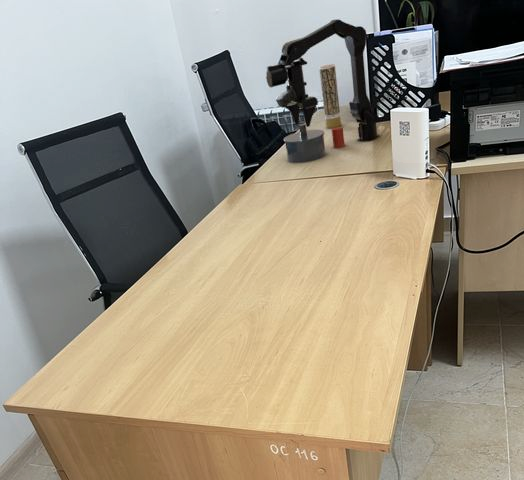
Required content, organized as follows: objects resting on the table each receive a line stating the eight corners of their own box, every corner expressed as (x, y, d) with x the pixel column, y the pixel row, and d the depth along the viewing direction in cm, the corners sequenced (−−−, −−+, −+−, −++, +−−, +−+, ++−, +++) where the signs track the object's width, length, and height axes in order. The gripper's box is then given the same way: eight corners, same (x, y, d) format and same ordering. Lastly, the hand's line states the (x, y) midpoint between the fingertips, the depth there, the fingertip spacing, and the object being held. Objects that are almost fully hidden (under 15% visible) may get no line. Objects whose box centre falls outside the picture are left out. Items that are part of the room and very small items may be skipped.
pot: (328, 149, 216) (325, 129, 212) (321, 160, 204) (319, 139, 200) (293, 153, 220) (290, 134, 216) (284, 164, 209) (281, 144, 205)
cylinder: (346, 144, 216) (344, 126, 212) (340, 148, 213) (338, 129, 210) (337, 144, 219) (335, 126, 215) (331, 148, 216) (329, 129, 212)
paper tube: (340, 127, 243) (334, 65, 229) (325, 129, 245) (318, 68, 231) (341, 123, 248) (335, 63, 235) (327, 126, 250) (319, 66, 236)
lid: (327, 130, 212) (326, 116, 209) (320, 141, 200) (318, 127, 197) (289, 136, 217) (287, 122, 215) (279, 147, 205) (277, 132, 202)
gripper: (265, 85, 203) (273, 128, 212) (287, 87, 188) (294, 134, 197) (292, 77, 206) (298, 120, 214) (315, 79, 191) (321, 125, 199)
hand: (302, 125), depth 206 cm, fingers open, 9 cm apart
